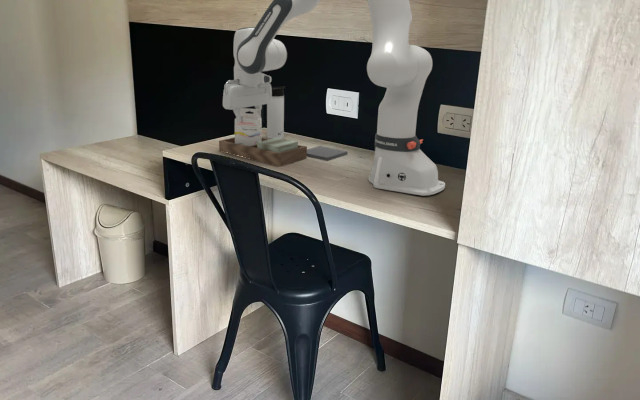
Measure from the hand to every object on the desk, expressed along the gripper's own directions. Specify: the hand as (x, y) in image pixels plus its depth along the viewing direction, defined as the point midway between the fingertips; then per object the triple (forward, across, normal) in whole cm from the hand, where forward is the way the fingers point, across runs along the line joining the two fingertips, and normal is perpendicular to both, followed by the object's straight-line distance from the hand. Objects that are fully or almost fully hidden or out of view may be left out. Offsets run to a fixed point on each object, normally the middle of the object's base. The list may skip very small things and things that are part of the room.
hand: (248, 119), depth 189 cm
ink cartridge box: (+11, 0, 0) cm, 11 cm away
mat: (+11, +15, -21) cm, 28 cm away
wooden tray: (+11, 0, -6) cm, 13 cm away
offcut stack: (+11, 0, -13) cm, 18 cm away
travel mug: (+11, +21, +6) cm, 25 cm away
